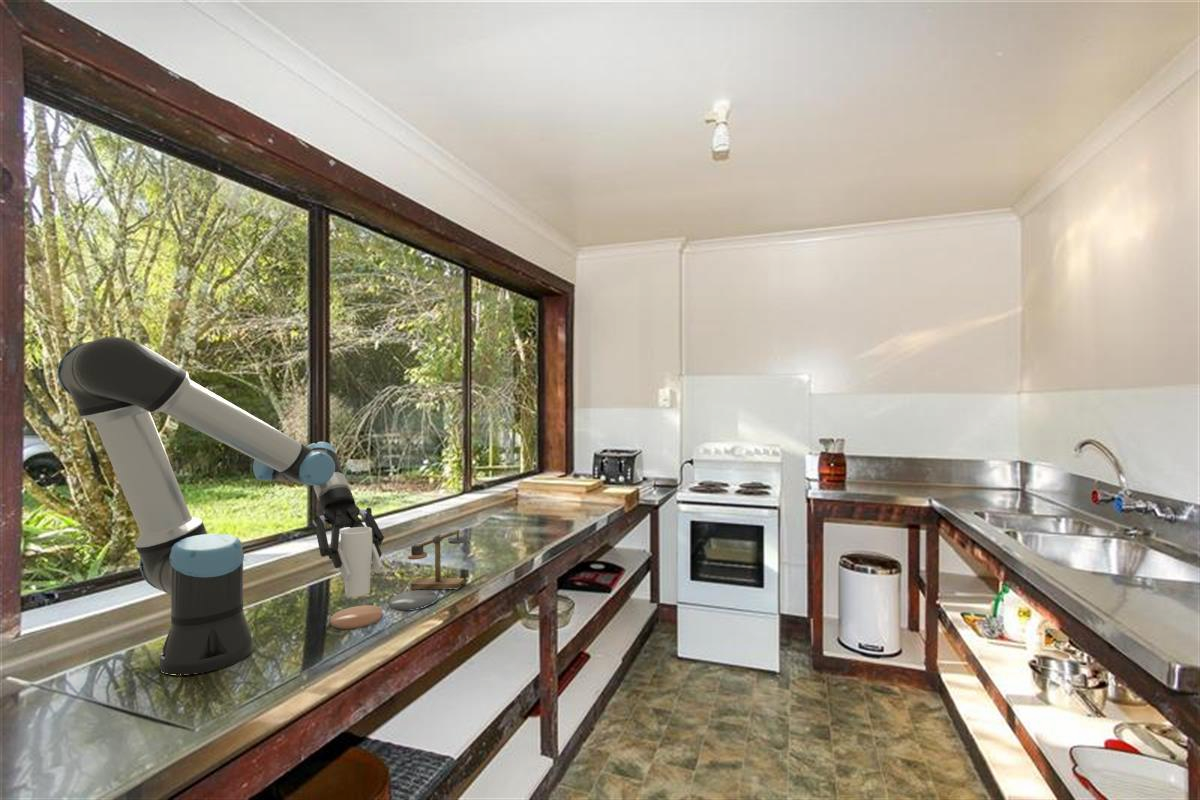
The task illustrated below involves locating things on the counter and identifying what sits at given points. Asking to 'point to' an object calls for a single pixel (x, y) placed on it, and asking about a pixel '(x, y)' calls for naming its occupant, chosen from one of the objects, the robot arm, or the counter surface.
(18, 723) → the counter surface
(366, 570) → the drinking glass
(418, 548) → the balance
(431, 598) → the charcoal dish
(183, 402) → the robot arm
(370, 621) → the pink oval pebble
